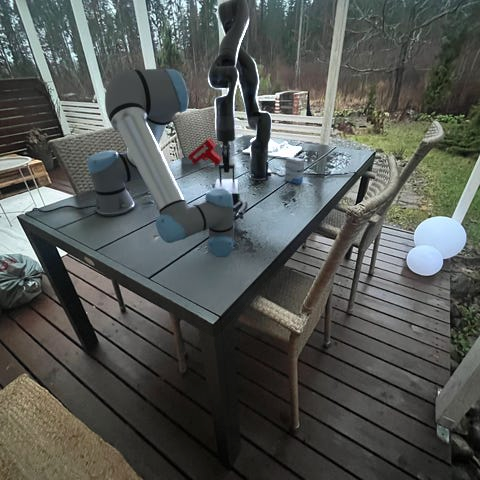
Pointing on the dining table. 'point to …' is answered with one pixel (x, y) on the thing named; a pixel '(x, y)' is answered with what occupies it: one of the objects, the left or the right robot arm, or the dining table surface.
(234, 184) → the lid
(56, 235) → the dining table surface
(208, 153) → the toy gun
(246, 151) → the relief map
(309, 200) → the dining table surface
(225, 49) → the right robot arm
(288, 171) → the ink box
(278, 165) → the dining table surface
